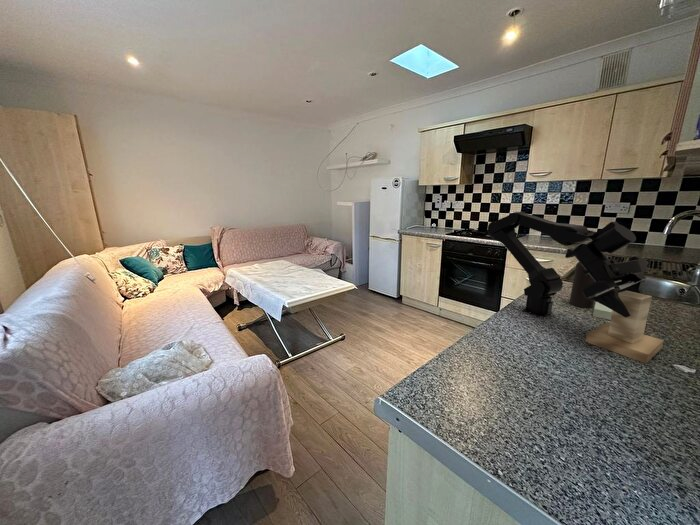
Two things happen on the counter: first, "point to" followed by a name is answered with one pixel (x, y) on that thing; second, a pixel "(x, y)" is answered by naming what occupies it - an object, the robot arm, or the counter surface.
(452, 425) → the counter surface
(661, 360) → the counter surface
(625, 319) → the beech post
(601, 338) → the oak block
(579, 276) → the vinegar
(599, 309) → the sage block
